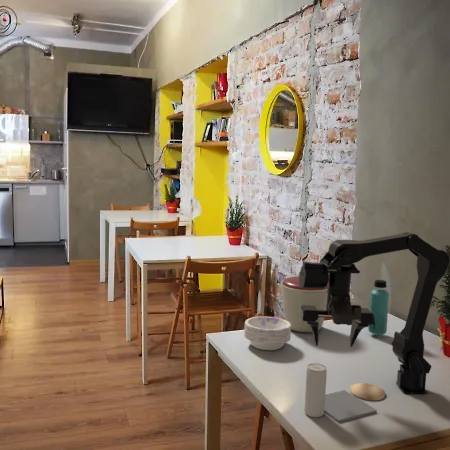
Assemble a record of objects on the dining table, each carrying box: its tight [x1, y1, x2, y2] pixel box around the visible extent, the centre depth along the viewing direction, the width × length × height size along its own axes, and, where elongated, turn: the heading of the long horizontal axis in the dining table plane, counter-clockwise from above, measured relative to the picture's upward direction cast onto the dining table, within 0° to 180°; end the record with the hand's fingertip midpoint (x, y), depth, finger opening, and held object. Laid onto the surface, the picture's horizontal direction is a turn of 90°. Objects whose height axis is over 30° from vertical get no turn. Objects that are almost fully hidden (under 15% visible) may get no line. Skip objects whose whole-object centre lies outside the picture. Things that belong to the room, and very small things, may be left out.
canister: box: [280, 275, 328, 334], centre depth 190 cm, size 18×18×21 cm
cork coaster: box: [349, 382, 386, 402], centre depth 141 cm, size 9×9×1 cm
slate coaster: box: [324, 389, 378, 423], centre depth 133 cm, size 12×12×1 cm
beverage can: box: [303, 362, 328, 419], centre depth 128 cm, size 5×5×12 cm
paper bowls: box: [243, 315, 292, 351], centre depth 173 cm, size 15×15×8 cm
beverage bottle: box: [367, 279, 390, 335], centre depth 185 cm, size 6×7×20 cm
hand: (333, 345), depth 140 cm, fingers open, 9 cm apart
